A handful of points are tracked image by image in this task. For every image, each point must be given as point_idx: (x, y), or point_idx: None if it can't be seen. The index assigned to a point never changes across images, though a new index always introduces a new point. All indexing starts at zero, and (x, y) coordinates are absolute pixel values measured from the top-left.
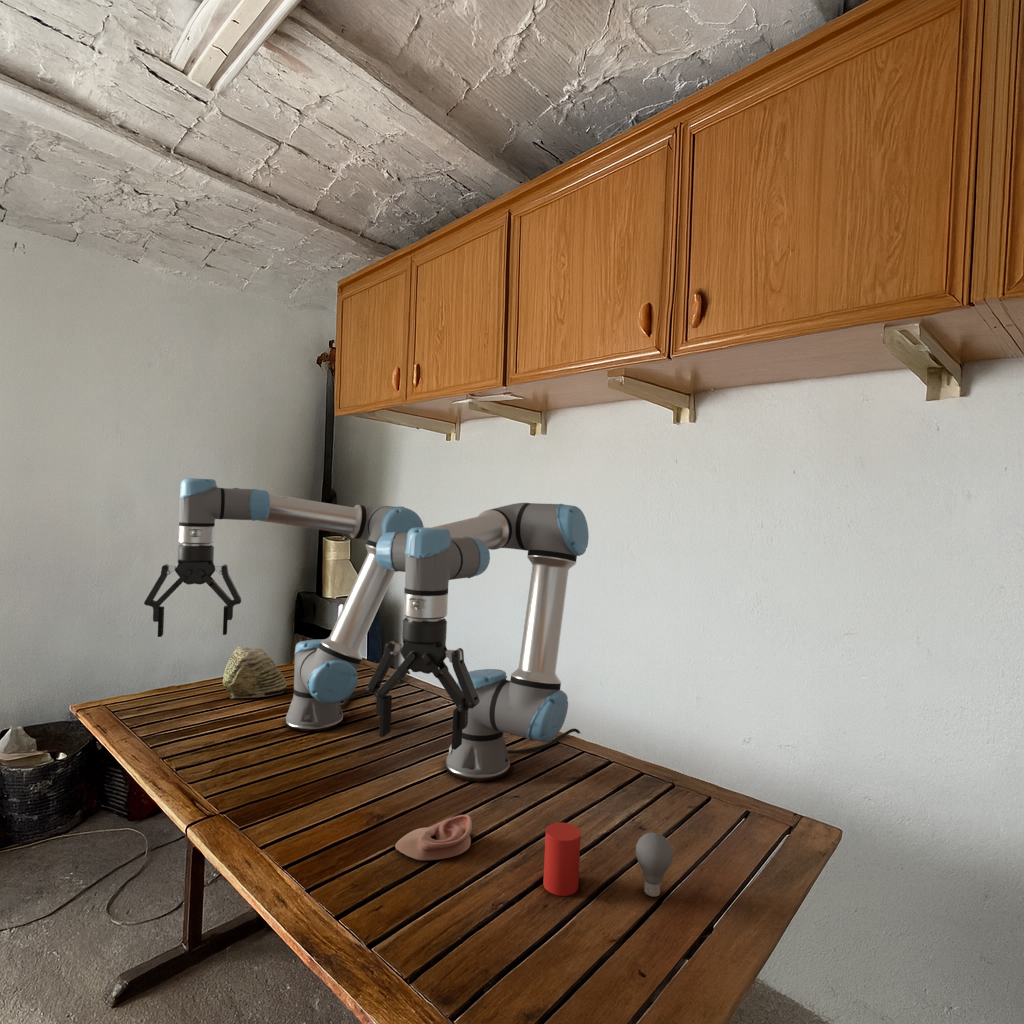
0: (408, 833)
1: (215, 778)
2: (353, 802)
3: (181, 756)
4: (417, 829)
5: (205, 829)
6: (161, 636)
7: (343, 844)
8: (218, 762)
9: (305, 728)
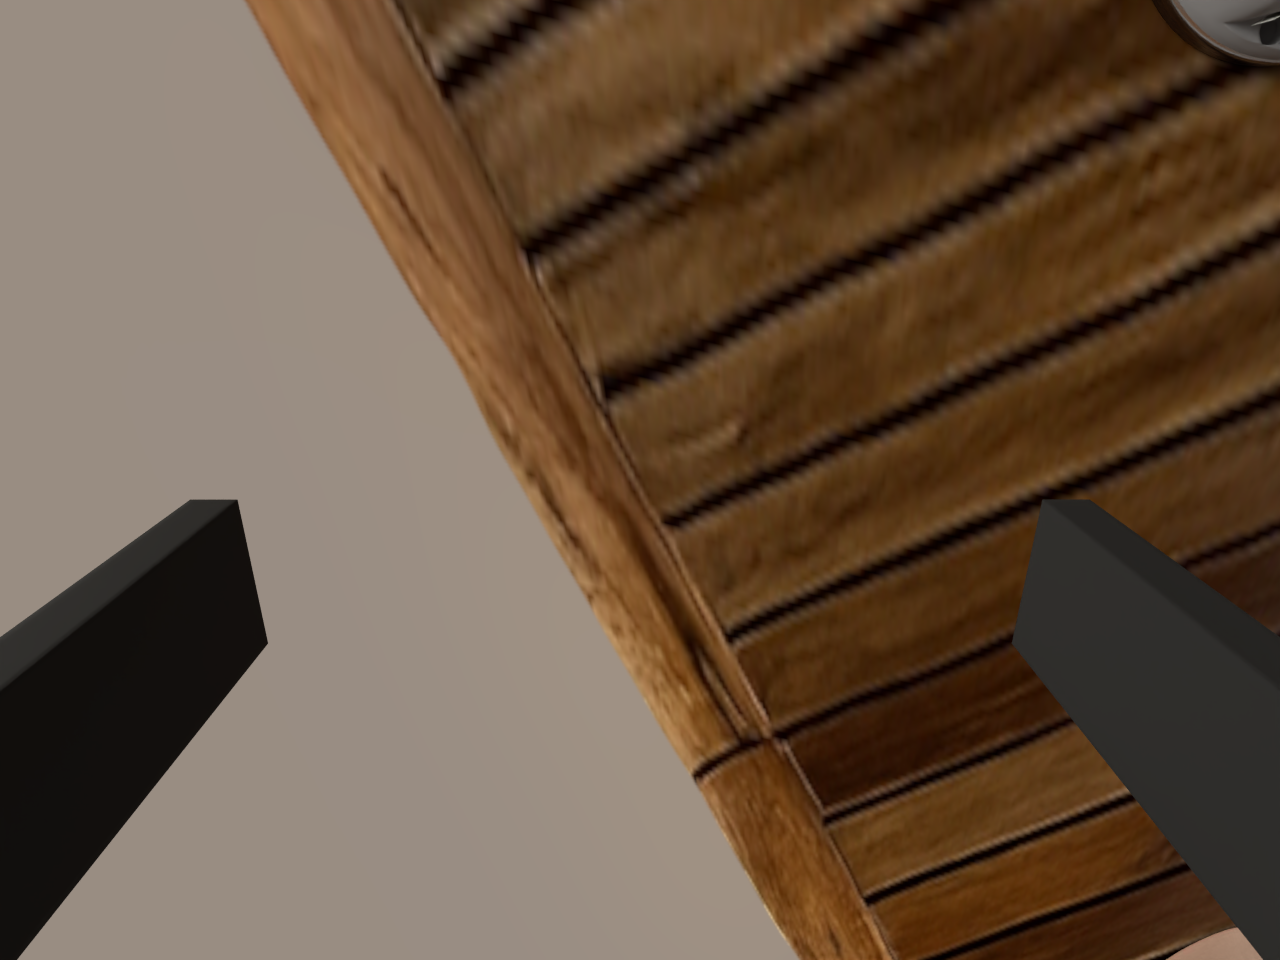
0: (1210, 953)
1: (754, 506)
2: None
3: (602, 248)
4: (1238, 950)
5: (738, 803)
6: (263, 627)
7: (1050, 928)
8: (761, 357)
9: (1220, 50)
